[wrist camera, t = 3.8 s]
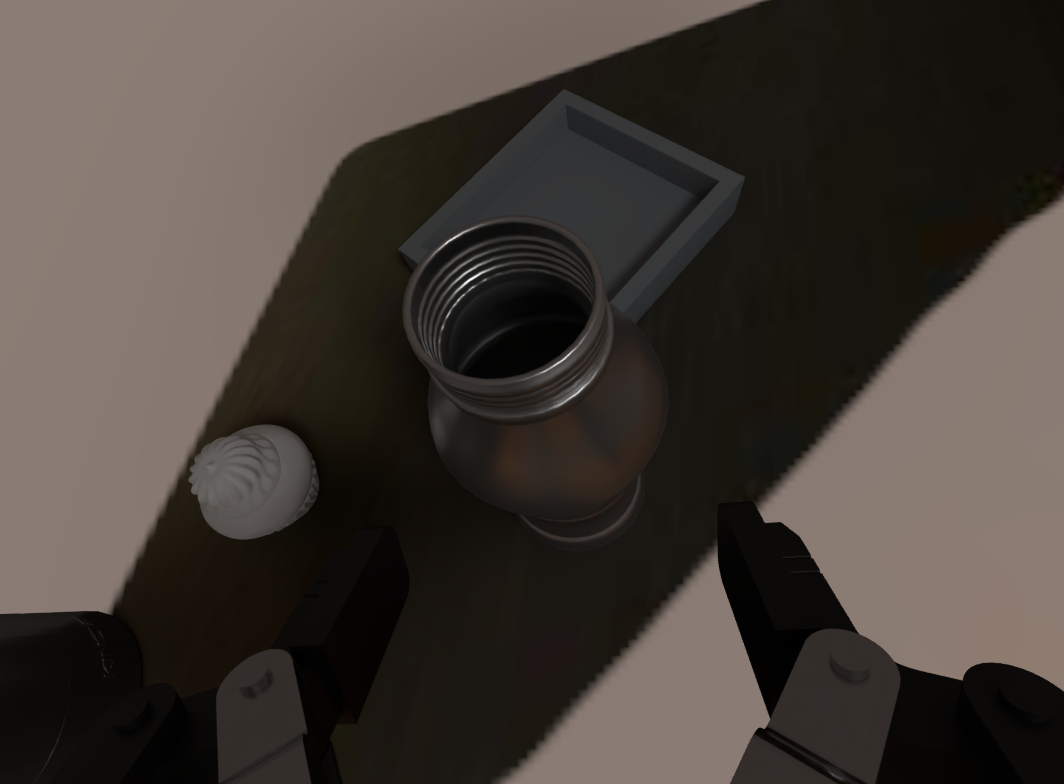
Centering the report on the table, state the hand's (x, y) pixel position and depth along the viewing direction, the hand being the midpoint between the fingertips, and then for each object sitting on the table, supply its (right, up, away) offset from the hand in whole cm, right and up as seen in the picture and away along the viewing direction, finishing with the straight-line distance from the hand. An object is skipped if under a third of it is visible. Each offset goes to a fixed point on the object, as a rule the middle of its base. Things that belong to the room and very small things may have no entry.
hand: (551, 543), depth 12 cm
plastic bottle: (+2, -2, +15) cm, 15 cm away
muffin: (-15, -2, +18) cm, 23 cm away
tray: (+2, +13, +21) cm, 25 cm away
